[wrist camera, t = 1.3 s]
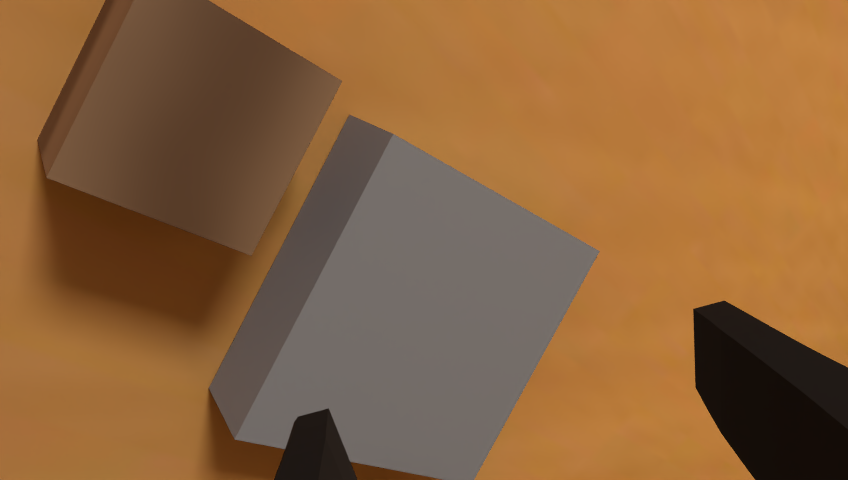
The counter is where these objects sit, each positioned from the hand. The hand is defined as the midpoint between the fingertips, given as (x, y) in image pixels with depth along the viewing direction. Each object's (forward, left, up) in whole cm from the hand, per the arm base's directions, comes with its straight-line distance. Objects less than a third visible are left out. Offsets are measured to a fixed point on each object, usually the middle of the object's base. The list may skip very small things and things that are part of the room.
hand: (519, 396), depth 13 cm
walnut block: (-5, +2, -12) cm, 13 cm away
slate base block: (+5, -1, -11) cm, 12 cm away
